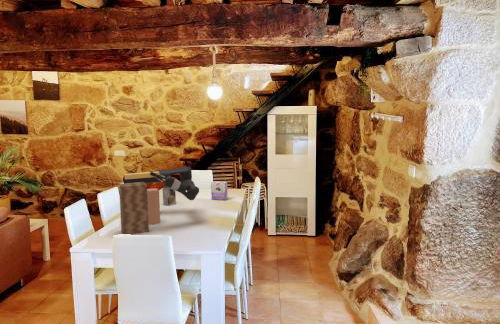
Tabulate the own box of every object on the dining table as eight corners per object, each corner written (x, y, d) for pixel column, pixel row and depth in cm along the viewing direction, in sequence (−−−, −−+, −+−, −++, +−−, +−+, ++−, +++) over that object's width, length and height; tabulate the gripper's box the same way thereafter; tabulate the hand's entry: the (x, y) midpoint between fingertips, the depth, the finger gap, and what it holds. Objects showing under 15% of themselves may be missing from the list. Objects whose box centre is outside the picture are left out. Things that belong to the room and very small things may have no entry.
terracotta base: (157, 220, 282) (156, 188, 279) (160, 223, 274) (159, 190, 271) (144, 221, 278) (143, 189, 275) (147, 224, 270) (146, 191, 267)
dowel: (158, 175, 260) (158, 171, 260) (159, 176, 257) (159, 172, 257) (124, 178, 250) (124, 174, 250) (125, 179, 247) (125, 174, 247)
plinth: (145, 227, 264) (143, 181, 259) (148, 231, 255) (146, 184, 251) (121, 231, 257) (119, 184, 252) (123, 235, 248) (121, 186, 244)
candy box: (227, 199, 348) (227, 181, 346) (225, 200, 343) (225, 182, 341) (213, 198, 352) (213, 180, 350) (211, 199, 346) (210, 181, 344)
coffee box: (171, 202, 335) (170, 184, 333) (176, 204, 331) (175, 185, 329) (162, 204, 328) (162, 186, 326) (167, 206, 324) (167, 187, 322)
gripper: (172, 176, 270) (150, 166, 262) (177, 179, 257) (154, 168, 250) (167, 186, 269) (144, 176, 261) (172, 190, 257) (149, 179, 249)
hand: (149, 172), depth 256 cm, fingers closed on dowel, 3 cm apart
